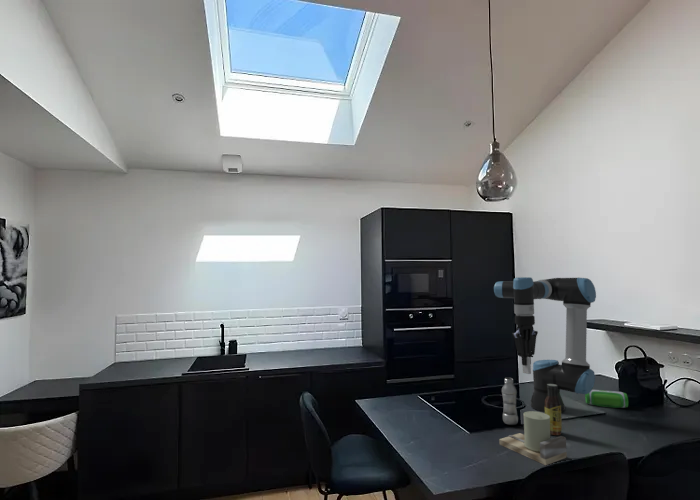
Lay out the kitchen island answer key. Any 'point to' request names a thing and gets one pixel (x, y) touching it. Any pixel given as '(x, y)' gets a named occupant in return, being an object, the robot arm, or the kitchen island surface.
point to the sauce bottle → (553, 409)
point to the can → (536, 429)
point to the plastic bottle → (509, 402)
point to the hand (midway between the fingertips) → (526, 373)
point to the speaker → (607, 398)
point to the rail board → (527, 451)
